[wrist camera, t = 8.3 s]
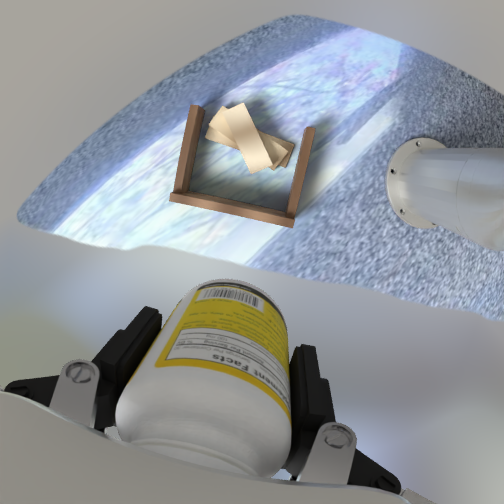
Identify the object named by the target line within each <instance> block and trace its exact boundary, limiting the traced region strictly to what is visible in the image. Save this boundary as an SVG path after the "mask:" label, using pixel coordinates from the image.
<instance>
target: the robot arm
mask: <svg viewBox="0 0 504 504" xmlns="http://www.w3.org/2000/svg"><path fill="white" fill-rule="evenodd" d="M416 143H417V146H416ZM391 169H392V170H393V172H392V173H391ZM385 190H386V194H387V198H388V201H389V203H390V206H391V207H392V209H393V210H394V212H395V213H396V214H397V216H398V217H399V218H400V219H401V220H403V221H404V222H406V223H407V224H409V225H411V226H413V227H416V228H420V229H430V228H435V227H437V226H441V227H443V228H445V229H447V230H449V231H451V232H453V233H456V234H458V235H460V236H462V237H464V238H466V239H468V240H470V241H472V242H474V243H476V244H478V245H480V246H482V247H484V248H486V249H489V250H493V251H504V148H447V147H446V146H445V145H443V144H442V143H440V142H438V141H437V140H434V139H430V138H415V139H411V140H408V141H407V142H405V143H403V144H402V145H400V146H399V147H398V148H397V149H396V150H395V152H394V153H393V154H392V156H391V158H390V160H389V162H388V165H387V169H386V174H385ZM400 210H402V211H401V212H400ZM161 325H162V314H159V311H158V310H157V309H154V308H151V307H147V306H145V307H144V308H143V309H142V310H141V311H140V312H139V314H138V315H137V316H136V317H135V318H134V320H133V321H132V322H131V323H130V324H129V325H128V327H127V328H126V329H125V330H121V329H120V330H118V331H117V332H116V333H115V334H114V336H113V337H112V338H111V339H110V340H109V341H108V342H107V344H106V345H105V346H104V347H103V348H102V349H101V351H100V352H99V353H98V354H97V355H96V357H95V358H94V359H93V360H92V361H91V362H90V361H87V360H82V359H78V360H72V361H70V362H68V363H66V364H65V365H64V366H63V368H62V370H61V373H60V375H57V376H50V377H42V378H34V379H24V380H17V381H13V382H11V383H9V384H8V385H7V386H6V388H5V389H2V387H1V386H0V504H436V503H434V502H432V501H430V500H428V499H426V498H424V497H422V496H421V495H419V494H417V493H415V492H413V491H411V490H410V489H408V488H407V489H406V490H403V489H402V488H401V484H400V482H399V480H398V478H397V477H395V476H394V475H393V474H392V473H390V472H389V471H387V470H386V469H384V468H383V467H381V466H380V465H379V464H377V463H376V462H374V461H373V460H371V459H370V458H369V457H367V456H366V455H364V454H363V453H361V452H360V451H359V450H357V449H356V443H357V438H356V435H355V433H354V432H353V431H352V429H350V428H349V427H348V426H346V425H344V424H341V423H337V422H336V421H335V415H334V409H333V403H332V397H331V392H330V387H329V382H328V380H327V379H324V378H320V372H319V366H318V360H317V354H316V348H315V346H310V345H305V344H301V346H300V347H297V346H296V348H295V350H294V353H293V356H292V358H291V361H290V364H289V372H290V394H291V395H290V396H291V424H292V435H291V448H290V452H289V455H288V458H287V460H286V462H285V463H284V465H283V466H282V468H281V469H286V470H287V471H288V472H289V473H290V474H291V475H290V477H289V479H288V480H280V479H272V478H265V477H258V476H251V475H245V474H240V473H234V472H229V471H224V470H220V469H215V468H210V467H206V466H202V465H198V464H194V463H190V462H186V461H183V460H179V459H176V458H172V457H169V456H165V455H162V454H159V453H156V452H153V451H150V450H147V449H144V448H141V447H138V446H135V445H133V444H130V443H127V442H125V441H122V440H119V439H117V438H114V437H112V436H109V435H107V427H111V426H116V418H115V414H116V407H117V403H118V401H119V398H120V396H121V394H122V392H123V390H124V389H125V387H126V385H127V383H128V382H129V380H130V378H131V377H132V375H133V374H134V372H135V370H136V369H137V367H138V366H139V364H140V362H141V361H142V359H143V358H144V356H145V354H146V353H147V351H148V350H149V348H150V347H151V345H152V343H153V342H154V340H155V338H156V337H157V335H158V334H159V332H160V331H161ZM116 427H117V426H116Z"/></svg>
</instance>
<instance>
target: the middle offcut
mask: <svg viewBox="0 0 504 504" xmlns="http://www.w3.org/2000/svg"><path fill="white" fill-rule="evenodd" d="M226 110H228V109H227V108H226V107H224V106H222V107H221V108H220V110H219V111H218V112H217V114H216V115H215V116H214V118H213V119H212V120H211V122H210V123H209V124H208V125H210V126H211V127H213V128H214V129H216V130H217V131H219V132H220V133H222V134H223V135H224V136H226V137H227V138H229V139H230V140H232V141H233V142H235V143H236V141H235V139H234V136H233V134H232V132H231V130H230V128H229V126H228V124H227V122H226V120H225V117H224V115H223V113H222V112H224V111H226ZM256 129H257V128H256ZM257 131H258V134H259V136H260V138H261V140H262V142H263V144H264V146H265V149H266V151H267V153H268V155H269V157H270V159H271V162H272V164H273V165H272V166H269V168H271V169H272V170H273V171H274V169H275V168H276V167H277V166H278V164H279V163H280V162H281V160H282V159H283V158H284V156H285V155H286V154H287V153H288V151H287V150H286V149H284V148H283V147H282V146H280V145H279V144H278V143H276V142H275V141H273V140H272V139H271V138H269V137H268V136H267V135H265V134H264V133H262V132H261V131H259V130H258V129H257ZM236 144H237V143H236Z"/></svg>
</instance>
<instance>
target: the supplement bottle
mask: <svg viewBox="0 0 504 504" xmlns="http://www.w3.org/2000/svg"><path fill="white" fill-rule="evenodd" d="M290 395H291V394H290V372H289V352H288V335H287V327H286V323H285V319H284V316H283V314H282V312H281V310H280V308H279V307H278V305H277V304H276V303H275V301H274V300H273V299H272V298H271V297H270V296H269V295H268V294H267V293H265V292H264V291H263V290H261V289H260V288H258V287H256V286H254V285H252V284H250V283H247V282H244V281H240V280H233V279H217V280H211V281H208V282H205V283H203V284H200V285H198V286H196V287H194V288H193V289H191V290H190V291H189V292H188V293H187V294H186V295H185V296H184V297H183V298H182V299H181V301H180V302H179V303H178V304H177V306H176V308H175V309H174V310H173V312H172V314H171V315H170V316H169V318H168V320H167V321H166V323H165V324H164V326H163V328H162V329H161V331H160V332H159V334H158V335H157V337H156V338H155V340H154V342H153V343H152V345H151V347H150V348H149V350H148V351H147V353H146V354H145V356H144V358H143V359H142V361H141V362H140V364H139V366H138V367H137V369H136V370H135V372H134V374H133V375H132V377H131V378H130V380H129V382H128V383H127V385H126V387H125V389H124V390H123V392H122V394H121V396H120V398H119V401H118V403H117V407H116V414H115V418H116V426H117V430H118V433H119V435H120V437H121V439H122V441H125V442H127V443H130V444H133V445H135V446H138V447H141V448H144V449H147V450H150V451H153V452H156V453H159V454H162V455H165V456H169V457H172V458H176V459H179V460H183V461H186V462H190V463H194V464H198V465H202V466H206V467H210V468H215V469H220V470H224V471H229V472H234V473H240V474H245V475H251V476H258V477H265V478H271V477H272V476H274V475H275V474H276V473H277V472H278V471H279V470H280V469H281V468H282V466H283V465H284V463H285V462H286V460H287V458H288V455H289V452H290V448H291V435H292V424H291V396H290Z"/></svg>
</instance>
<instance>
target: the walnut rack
mask: <svg viewBox="0 0 504 504" xmlns="http://www.w3.org/2000/svg"><path fill="white" fill-rule="evenodd" d="M204 113H205V110H204V109H203V108H201V107H200V106H198V105H190V110H189V114H188V119H187V123H186V128H185V132H184V137H183V142H182V147H181V152H180V157H179V162H178V167H177V173H176V178H175V184H174V190H173V192H172V193H170V199H169V201H171V202H176V203H181V204H186V205H191V206H195V207H200V208H205V209H209V210H214V211H219V212H223V213H228V214H232V215H237V216H241V217H246V218H250V219H255V220H259V221H263V222H268V223H272V224H276V225H281V226H285V227H289V228H293V226H294V222H295V219H294V218H295V214H296V210H297V206H298V202H299V198H300V194H301V189H302V185H303V181H304V177H305V173H306V168H307V164H308V160H309V155H310V151H311V147H312V142H313V138H314V133H315V128H311V127H306V128H305V130H304V134H303V138H302V143H301V147H300V151H299V156H298V160H297V164H296V169H295V173H294V177H293V182H292V186H291V190H290V194H289V199H288V203H287V207H286V211H285V212H283V211H279V210H275V209H270V208H266V207H262V206H257V205H253V204H248V203H244V202H239V201H235V200H230V199H226V198H221V197H216V196H211V195H206V194H202V193H197V192H192V191H189V186H190V180H191V175H192V170H193V165H194V160H195V155H196V150H197V145H198V140H199V135H200V131H201V126H202V122H203V117H204Z"/></svg>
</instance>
